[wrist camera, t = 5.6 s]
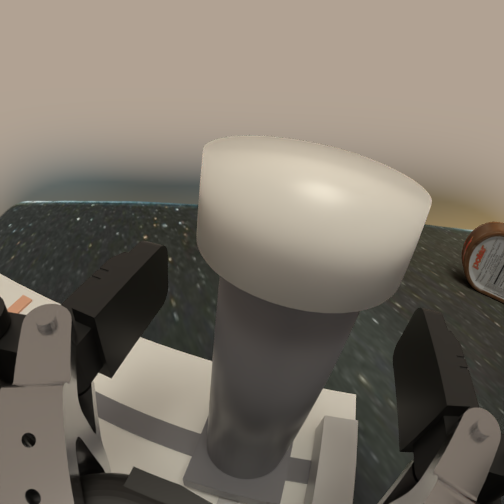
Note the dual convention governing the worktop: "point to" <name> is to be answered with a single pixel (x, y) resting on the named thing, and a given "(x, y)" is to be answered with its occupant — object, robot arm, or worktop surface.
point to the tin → (485, 259)
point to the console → (203, 419)
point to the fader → (288, 291)
